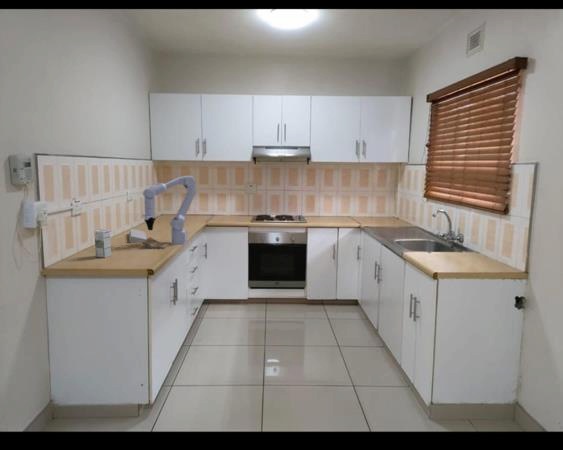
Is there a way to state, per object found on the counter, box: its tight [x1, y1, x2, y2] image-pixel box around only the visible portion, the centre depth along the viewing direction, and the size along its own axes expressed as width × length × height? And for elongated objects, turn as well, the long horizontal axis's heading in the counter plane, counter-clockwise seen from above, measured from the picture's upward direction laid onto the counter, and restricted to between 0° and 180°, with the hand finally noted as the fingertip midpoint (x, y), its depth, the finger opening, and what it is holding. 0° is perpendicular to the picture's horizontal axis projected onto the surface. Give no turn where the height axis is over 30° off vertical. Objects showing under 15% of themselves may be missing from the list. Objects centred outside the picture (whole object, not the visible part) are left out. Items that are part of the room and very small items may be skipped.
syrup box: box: [93, 229, 112, 259], centre depth 213 cm, size 6×6×14 cm
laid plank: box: [153, 241, 171, 250], centre depth 241 cm, size 6×14×1 cm, turn 2°
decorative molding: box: [128, 228, 148, 244], centre depth 270 cm, size 34×5×10 cm
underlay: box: [140, 244, 172, 250], centre depth 241 cm, size 14×16×1 cm
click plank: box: [141, 237, 160, 250], centre depth 241 cm, size 7×14×1 cm, turn 2°
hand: (150, 230), depth 243 cm, fingers closed
